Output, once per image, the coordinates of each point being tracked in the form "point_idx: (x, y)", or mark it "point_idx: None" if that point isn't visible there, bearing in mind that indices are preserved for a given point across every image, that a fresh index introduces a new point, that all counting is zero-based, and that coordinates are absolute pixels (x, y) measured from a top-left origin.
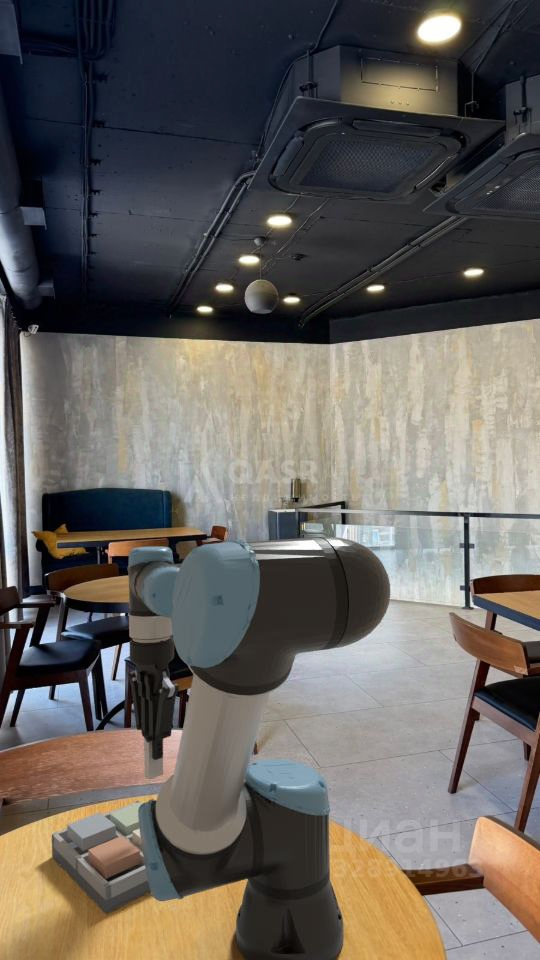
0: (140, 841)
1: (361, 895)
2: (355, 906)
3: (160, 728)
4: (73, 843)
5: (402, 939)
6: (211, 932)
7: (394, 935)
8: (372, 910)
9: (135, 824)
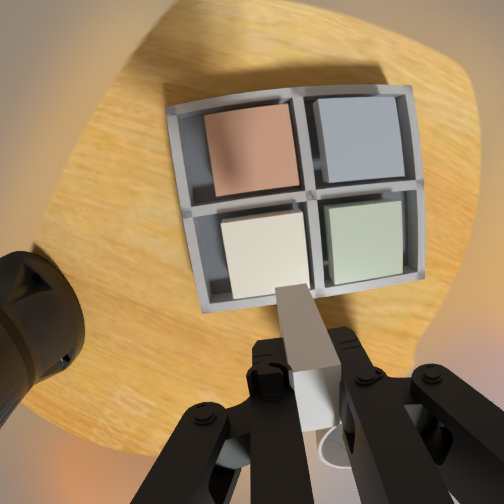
0: (265, 215)
1: (69, 402)
2: (56, 387)
3: (156, 464)
4: None
5: None
6: (66, 238)
7: None
8: (47, 392)
9: (330, 231)
